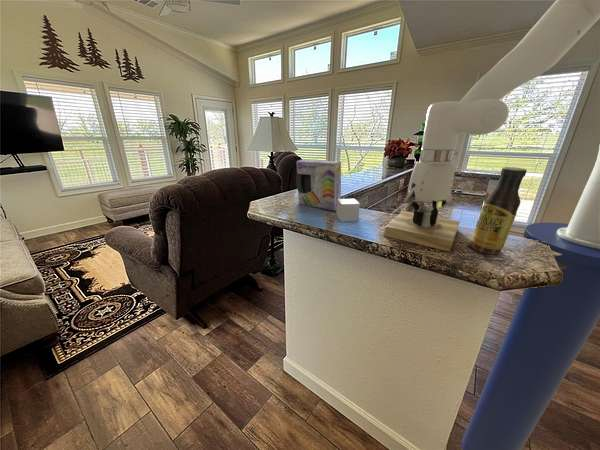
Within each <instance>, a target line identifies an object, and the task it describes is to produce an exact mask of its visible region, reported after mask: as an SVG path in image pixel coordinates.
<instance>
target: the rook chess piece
mask: <svg viewBox="0 0 600 450" xmlns="http://www.w3.org/2000/svg"><path fill="white" fill-rule="evenodd" d="M432 206H433V205H432V204H431V203H426V202H425V204H424V207H423V210H422V212H424V215H423V220H422V225H421V226H422V227H431V224H430V215H431V211H432V210H433V207H432ZM416 225H417V224H416Z"/></svg>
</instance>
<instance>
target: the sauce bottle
mask: <svg viewBox="0 0 600 450" xmlns="http://www.w3.org/2000/svg"><path fill="white" fill-rule="evenodd" d="M527 171H528V170H527V169H526V168H523V167H514V166H504V167H502V168H501V171H500V173H499V174H500V176H499V179H498V182H497V183H496V187H495V189H493V191H492V192H491V193H490V194H489V195H488V196H487V198H486V200H485V201H484V203H483V205H482V207H481V210H480V214H479V216H478V219H477V222H476V226H475V228H474V231H473V234H472V237H471V243H470V247H471V248H472V249H473V250H475V251H476V252H479V253H482V254H485V255H499V254H500V253H501V251H502V249H504V247H505V244H506V241H507V239H508V237H509V234H510V231H511V229H512V227H513V224H514V223H515V222H514V221H515V220H516V217H517V214H518V213H517V212H518V209H519V208H520V206H521V197H520V195H519V190H520V186H521V183H522V181H523V179H524V177H526V175H527Z"/></svg>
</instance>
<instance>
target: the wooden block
mask: <svg viewBox="0 0 600 450" xmlns="http://www.w3.org/2000/svg"><path fill="white" fill-rule="evenodd" d="M413 215H414V212H409V211H404V210H401V212H400V213H398V214H397V215H396V216H395V217H394V218H393V219H392V220H391V221H390V222H389V223H388V224H386V226H385V230H384V237H387V238H391V239H396V240H399V241H404V242H407V243H413V244H416V245H421V246H425V247H427V248H433V249H437V250H440V251H444V252H448V253H449V252H451V250H452V247H453V244H454V242H455V238H456V236H457V233H458V231H459V226H460V222H461V221H460V220H457V219H452V218H451V219H450V218H445V217H439V216H437V220H436V224H435V225H432V224H431V223H430V224H431V227H422V226H418V225H416V224H415V223H413Z"/></svg>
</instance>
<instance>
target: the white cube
mask: <svg viewBox="0 0 600 450" xmlns="http://www.w3.org/2000/svg"><path fill="white" fill-rule="evenodd" d="M360 206H361V203H360V202H359V201H358V200H357V199H355V198H353V197H351V198H341V199H337V210H336V214H335V215H336V217H337V218H338V220H339V221H340V222H357V221H359V219H360Z"/></svg>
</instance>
